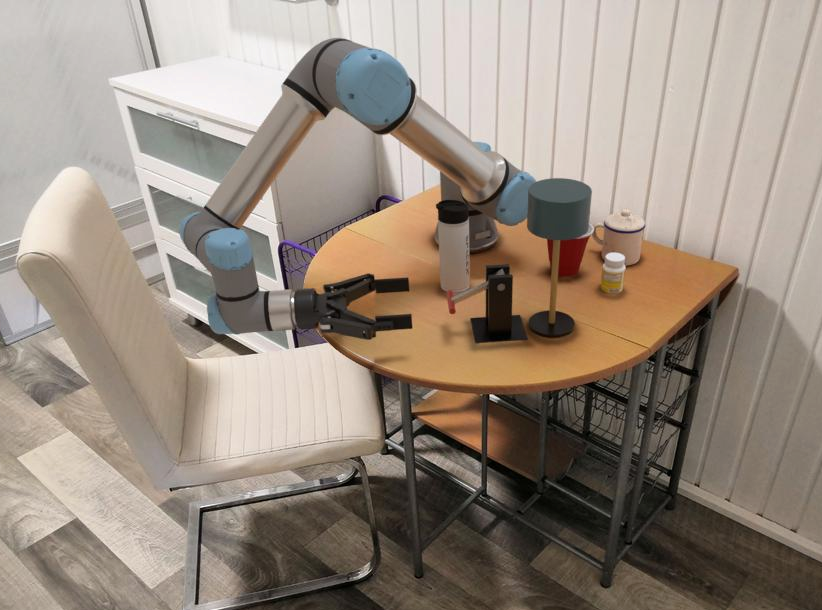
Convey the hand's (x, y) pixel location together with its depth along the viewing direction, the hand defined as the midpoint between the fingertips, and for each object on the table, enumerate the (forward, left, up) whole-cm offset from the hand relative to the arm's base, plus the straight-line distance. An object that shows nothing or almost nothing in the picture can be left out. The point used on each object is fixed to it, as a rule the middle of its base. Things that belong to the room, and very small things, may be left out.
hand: (410, 302), depth 138 cm
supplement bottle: (-13, +43, -9) cm, 45 cm away
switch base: (0, +17, -8) cm, 19 cm away
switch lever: (0, +13, +1) cm, 13 cm away
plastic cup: (-22, +35, -9) cm, 42 cm away
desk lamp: (0, +27, -8) cm, 28 cm away
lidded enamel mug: (-29, +48, -9) cm, 56 cm away
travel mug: (-18, +10, -9) cm, 22 cm away
